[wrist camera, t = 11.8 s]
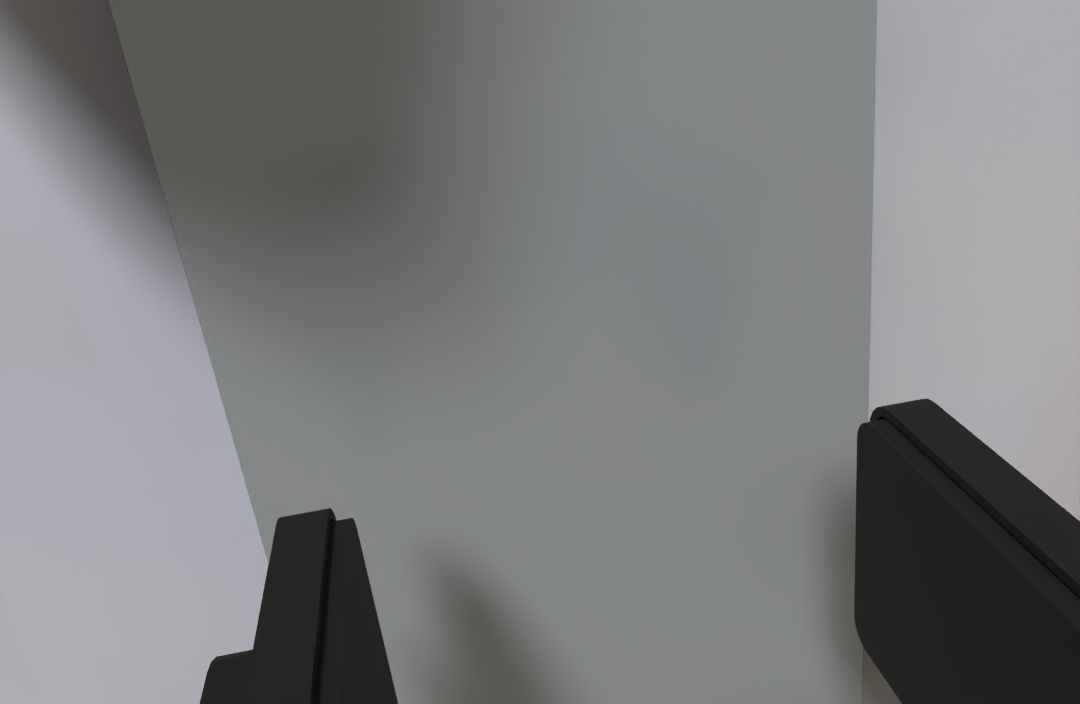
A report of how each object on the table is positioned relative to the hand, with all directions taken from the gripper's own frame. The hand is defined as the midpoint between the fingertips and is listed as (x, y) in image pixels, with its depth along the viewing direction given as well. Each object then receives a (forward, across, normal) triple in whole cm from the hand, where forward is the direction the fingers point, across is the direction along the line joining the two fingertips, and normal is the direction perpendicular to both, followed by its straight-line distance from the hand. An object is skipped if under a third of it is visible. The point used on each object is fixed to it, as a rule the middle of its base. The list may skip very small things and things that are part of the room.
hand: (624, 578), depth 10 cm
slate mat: (+5, 0, 0) cm, 5 cm away
